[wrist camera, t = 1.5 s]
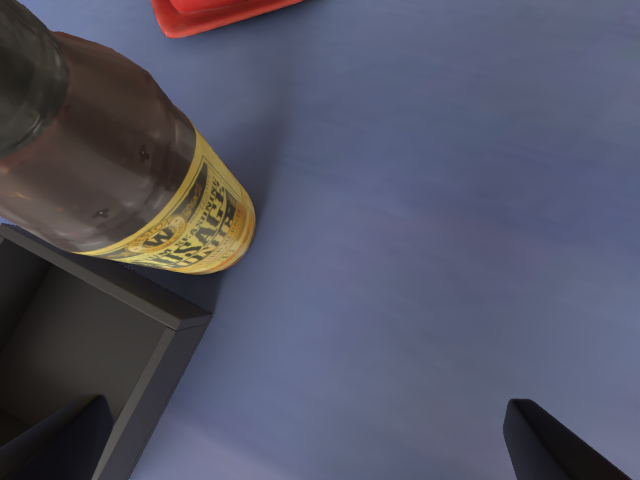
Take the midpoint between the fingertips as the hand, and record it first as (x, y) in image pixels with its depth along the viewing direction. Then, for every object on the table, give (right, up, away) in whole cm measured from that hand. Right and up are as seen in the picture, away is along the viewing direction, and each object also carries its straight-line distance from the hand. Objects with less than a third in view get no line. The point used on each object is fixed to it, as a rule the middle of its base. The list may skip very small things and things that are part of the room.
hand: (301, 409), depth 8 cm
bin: (-14, -3, +14) cm, 20 cm away
